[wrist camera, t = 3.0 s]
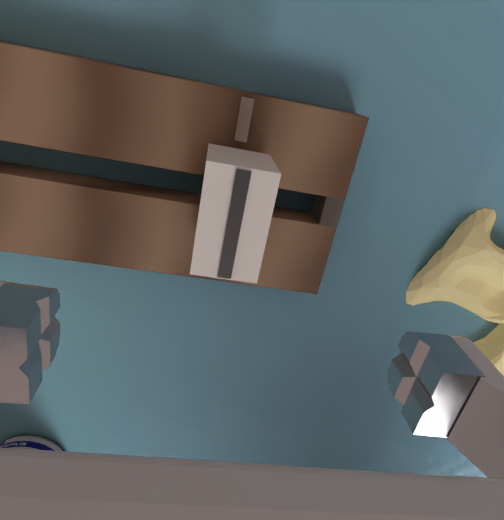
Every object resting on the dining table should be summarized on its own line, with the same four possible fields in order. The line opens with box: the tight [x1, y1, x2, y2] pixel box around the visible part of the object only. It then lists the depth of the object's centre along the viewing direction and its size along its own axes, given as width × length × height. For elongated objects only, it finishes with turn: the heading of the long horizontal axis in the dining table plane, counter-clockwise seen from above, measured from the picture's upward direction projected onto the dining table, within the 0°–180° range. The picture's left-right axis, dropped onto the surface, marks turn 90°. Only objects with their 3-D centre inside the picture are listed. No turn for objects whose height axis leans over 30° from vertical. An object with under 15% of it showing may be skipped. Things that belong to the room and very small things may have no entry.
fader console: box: [0, 40, 369, 294], centre depth 21 cm, size 24×10×2 cm, turn 79°
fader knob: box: [190, 143, 281, 284], centre depth 20 cm, size 3×5×6 cm, turn 169°
